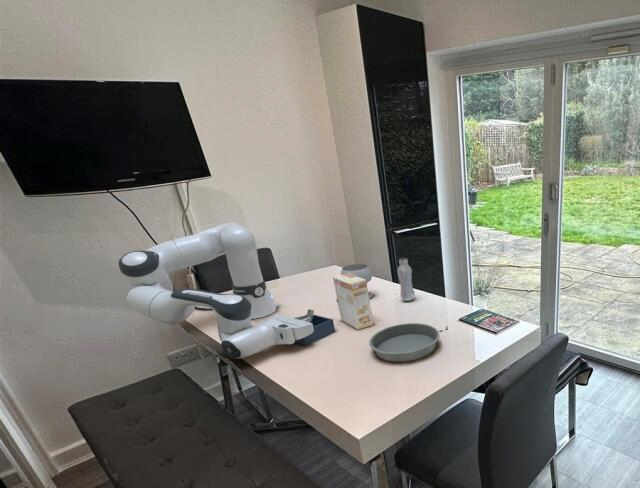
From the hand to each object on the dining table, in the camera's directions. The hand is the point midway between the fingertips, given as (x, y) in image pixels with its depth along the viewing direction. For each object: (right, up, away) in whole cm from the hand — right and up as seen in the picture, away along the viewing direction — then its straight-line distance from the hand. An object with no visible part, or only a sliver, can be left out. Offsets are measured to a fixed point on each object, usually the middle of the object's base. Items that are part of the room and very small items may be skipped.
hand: (307, 318), depth 158 cm
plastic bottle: (+30, +9, +36) cm, 48 cm away
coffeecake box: (+15, -2, +13) cm, 19 cm away
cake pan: (+41, -11, -9) cm, 43 cm away
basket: (0, -7, +2) cm, 7 cm away
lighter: (0, -5, +2) cm, 5 cm away
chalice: (+5, +10, +41) cm, 42 cm away
